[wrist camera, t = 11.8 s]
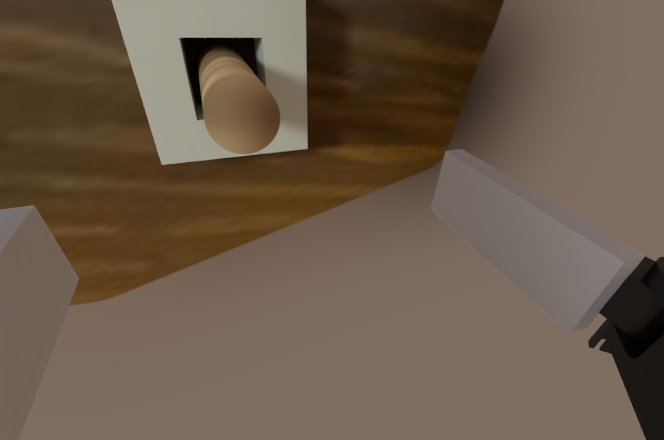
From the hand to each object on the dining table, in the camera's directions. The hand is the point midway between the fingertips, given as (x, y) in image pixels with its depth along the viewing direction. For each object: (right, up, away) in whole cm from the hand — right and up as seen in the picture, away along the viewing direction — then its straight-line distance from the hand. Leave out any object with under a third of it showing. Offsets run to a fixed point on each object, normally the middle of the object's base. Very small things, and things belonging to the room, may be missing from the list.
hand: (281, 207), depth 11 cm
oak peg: (-9, +14, +20) cm, 26 cm away
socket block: (-9, +14, +20) cm, 26 cm away
